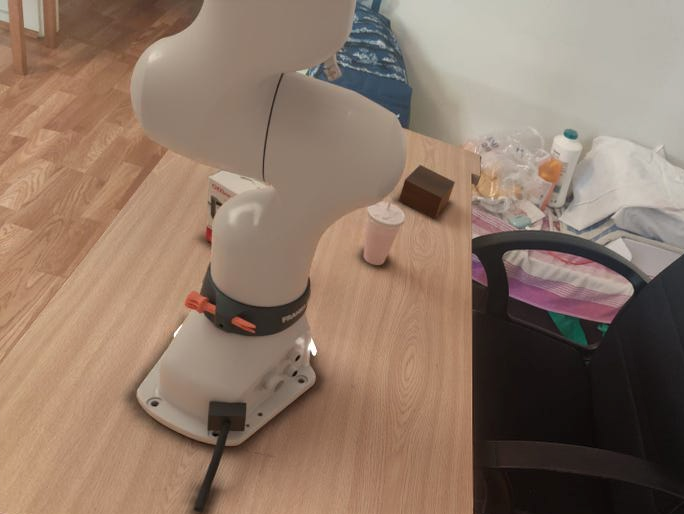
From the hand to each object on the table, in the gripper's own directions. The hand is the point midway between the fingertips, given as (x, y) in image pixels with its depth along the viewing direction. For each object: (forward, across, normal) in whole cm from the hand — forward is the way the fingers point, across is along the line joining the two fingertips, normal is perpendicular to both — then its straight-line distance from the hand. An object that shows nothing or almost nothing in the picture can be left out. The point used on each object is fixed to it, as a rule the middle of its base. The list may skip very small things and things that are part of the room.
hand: (321, 87), depth 88 cm
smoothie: (+27, 0, +7) cm, 28 cm away
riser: (+27, +24, +7) cm, 37 cm away
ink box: (+15, -13, +20) cm, 28 cm away
